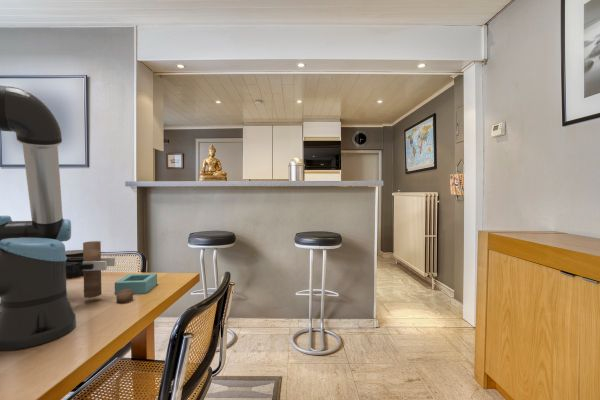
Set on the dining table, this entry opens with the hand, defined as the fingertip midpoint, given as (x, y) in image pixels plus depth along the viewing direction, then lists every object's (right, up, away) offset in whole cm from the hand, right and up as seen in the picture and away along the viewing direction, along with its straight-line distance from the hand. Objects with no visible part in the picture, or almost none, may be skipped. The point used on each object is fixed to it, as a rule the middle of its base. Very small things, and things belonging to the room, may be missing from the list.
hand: (110, 263), depth 90 cm
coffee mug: (-32, -11, +24) cm, 42 cm away
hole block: (+3, -11, +10) cm, 16 cm away
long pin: (-5, -10, 0) cm, 11 cm away
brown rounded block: (+5, -12, 0) cm, 13 cm away
